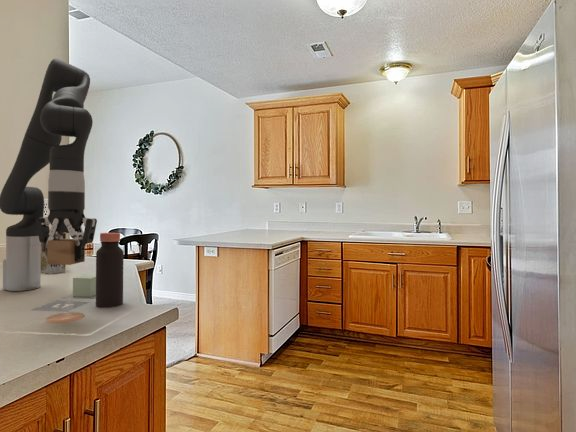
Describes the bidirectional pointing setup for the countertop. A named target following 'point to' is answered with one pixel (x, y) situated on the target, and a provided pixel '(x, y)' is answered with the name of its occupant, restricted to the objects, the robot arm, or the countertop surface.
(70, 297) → the code tile
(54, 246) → the walnut block
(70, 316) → the terracotta coaster
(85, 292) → the sage block
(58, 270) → the coffee box
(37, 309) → the tile
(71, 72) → the robot arm
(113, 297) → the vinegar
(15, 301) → the countertop surface
